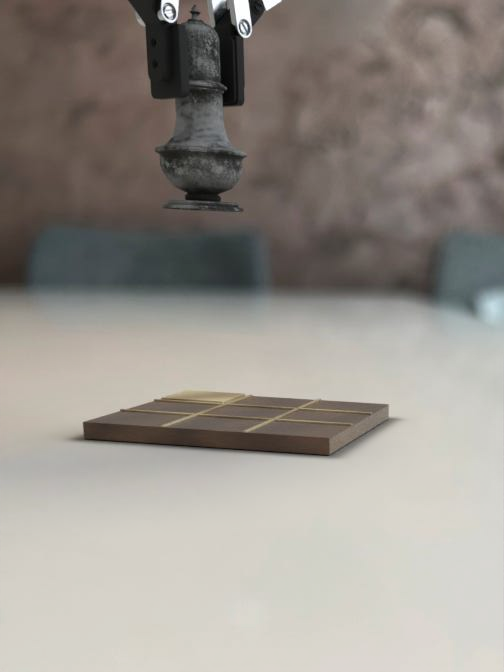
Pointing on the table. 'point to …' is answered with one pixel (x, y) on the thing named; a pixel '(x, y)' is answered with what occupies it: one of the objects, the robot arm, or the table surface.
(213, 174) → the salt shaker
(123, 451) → the table surface
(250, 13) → the robot arm
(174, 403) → the board
